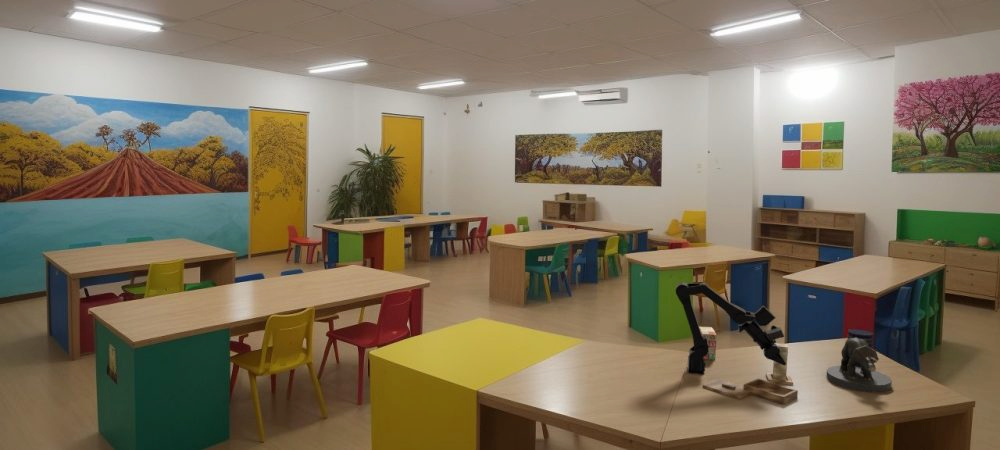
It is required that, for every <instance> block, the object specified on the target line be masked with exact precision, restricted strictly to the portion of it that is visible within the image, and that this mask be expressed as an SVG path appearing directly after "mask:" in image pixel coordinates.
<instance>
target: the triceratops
mask: <svg viewBox="0 0 1000 450" xmlns="http://www.w3.org/2000/svg"><path fill="white" fill-rule="evenodd" d="M841 357H842V358H841V359H840V360H841V361H840V362H841V363H840V365H832V366H829V367H828V368H826V375H825V376H826V379H827V380H828V381H829V382H830V383H832V384H834V385H836V386H839V387H842V388H845V389H849V390H852V391H856V392H857V391H858V392H865V393H885V391H886V392H888V390H889V391H890V390H891V389H892V385H893V384H892V382H893V380H892V379H891V377H890V376H888V375H887V374H885V373H883V372H880V371H877V370H876V369H877V368H876V365H875V363H877V362H879V361H880V360H879V357H878V353H877V351H876V349H873V347H872V348H870V347H869V346H868V344H867V342H865V341H864V340H863V339H859V338H857V337H855V338H850V339H848V338H847V339H846V340H845V343H844V345H843V347H842V349H841ZM849 359H850V360H849ZM856 364H857V365H858V366H860V367H855V365H856Z"/></svg>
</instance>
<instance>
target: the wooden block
mask: <svg viewBox="0 0 1000 450" xmlns="http://www.w3.org/2000/svg"><path fill="white" fill-rule="evenodd" d="M774 344H776V345H777V346H778V347H779V349H780V355H781V357H782V358H783V360H784V361H785V362H786V365H785V366H784V365H782V364H780V363H777V362H775V361H773V360H772V361H773V364H772V365H773V366H772V373H773V377H772V379H777V380H787V379H786V375H787V373H788V372H787V369H788V353H789V346H788V344H786V343H778V342H776V343H774Z"/></svg>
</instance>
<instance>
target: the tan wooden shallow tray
mask: <svg viewBox="0 0 1000 450" xmlns="http://www.w3.org/2000/svg"><path fill="white" fill-rule="evenodd" d="M742 387H743V390H747V391H750V392H751V395H750V396H755V397H758V398H761V399H764V400H767V401H770V402H774V403H777V404H780V405H783V406H784V405H786V404H788V403H791V402H793V401H794V400H796V399H798V392H799V391H798V389H796V388H795V389H794V388H791V387H788V386H784V385H782V384H777V383H771V382H768V380H764V379H762V378H756V379H753V380H751V381H748V382H746V383H744V384H743V386H742Z"/></svg>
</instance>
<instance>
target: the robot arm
mask: <svg viewBox="0 0 1000 450" xmlns="http://www.w3.org/2000/svg"><path fill="white" fill-rule="evenodd" d="M675 294H676V296H677V298H678V300H679V302H680V303H681V305H682V307H683V309H684V313H685V316H686V320H687V322H688V325H689V328H690V332H691V335H692V341H693V342H692V343H693V346H691V347H690V348H689V350H688V353H689V355H687V367H686V368H687V372H688V373H689V374H701V375H704V374H705V371H706V361H705V359H704V358H703V357H704V356H706V355H707V354H708V351H709V350H708V348H710V347H709V342H708V341H707V336H706V335H705V336H703V335H702V333H701V331H700V328H699V327H700V325H699V322H698V319H697V316H696V313H695V311H694V307H693V303H692V299H691V298H692V297H691V296H695V295H700V294H702V295H704V296H705V297H706V298H708V299H709V300H710V301H711V302H713V303H714V304H716V305H717V307H720V308H721V309H722V310H723V311H724V312H725V313H726V314H727V315H728V316H729V317H730V319H732V321H733V322H735V324H737V326H738V332H739V333H742V332H743V331H744V332H745V333H746V334H747V335H748V336H749V337H750V338H751V339H752V341H753V342H754V343H755V344H756V345H758V347H759V348H760V349H761V351H763V356H764V357H765V358H766V359H767V360H770V361H775V362H777V363H780V364H782V365H784V366H785V365H786V362H785V361H784V360H783V358H782V357H781V355H780V349H779V347H778V346H777V345H776V344H774V343H777V340H778V339H780V338H781V339H782V338H784V337H785V335H784V333H783V330H782V328H781V327H779V326H777V325H774V324H773V325H770V329H769V330H767V331H766V329H763V328H762V327H767V326H768V325H769V324H770V323H771V322H773V321H774V320H775V319H776V318H777V317H776V316H775V315H774V313H773V312H772V311H771V310H770V309H768V308H766V306H764V305H762V306H761V307H760V308H759V309H757V311H756V312H752V311H747V310H745V309H744V308H743V307H740V306H738V305H736V304H735V303H732V302H730V301H729V300H727V299H726V298H724V297H723V296H722V295H721V294H719V293H718V292H716V290H714V289H713V288H712V287H710V286H709V285H708V284H707V283H706V282H699V283H694V282H691V283H687V282H683V281H680V282H678V283H677V285H675Z"/></svg>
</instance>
